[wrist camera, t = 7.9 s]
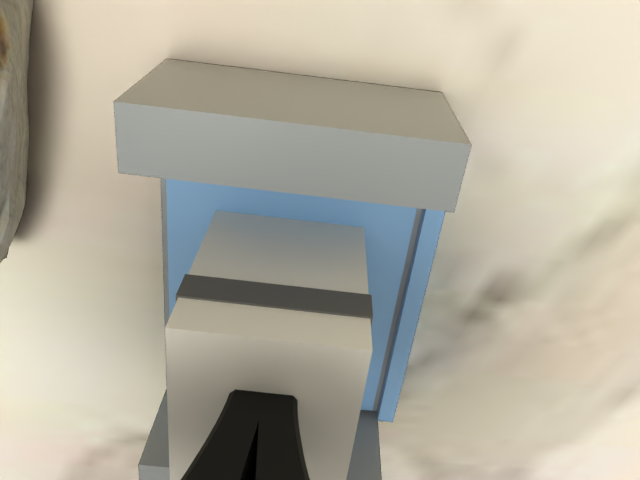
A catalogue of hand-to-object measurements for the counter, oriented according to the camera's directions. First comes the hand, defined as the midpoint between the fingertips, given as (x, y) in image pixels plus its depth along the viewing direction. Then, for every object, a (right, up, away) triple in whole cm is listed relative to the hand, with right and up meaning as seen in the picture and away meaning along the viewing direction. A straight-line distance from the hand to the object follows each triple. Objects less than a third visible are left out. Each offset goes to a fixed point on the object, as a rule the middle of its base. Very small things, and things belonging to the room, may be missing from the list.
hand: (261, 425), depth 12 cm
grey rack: (0, -2, +8) cm, 8 cm away
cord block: (0, +2, +4) cm, 5 cm away
